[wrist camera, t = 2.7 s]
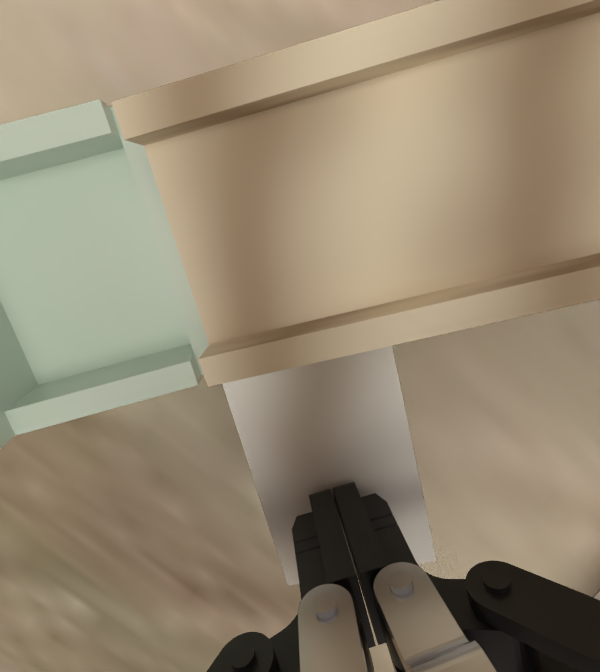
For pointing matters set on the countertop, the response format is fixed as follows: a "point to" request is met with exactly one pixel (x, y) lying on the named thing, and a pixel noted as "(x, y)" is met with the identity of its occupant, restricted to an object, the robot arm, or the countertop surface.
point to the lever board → (375, 223)
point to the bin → (86, 274)
